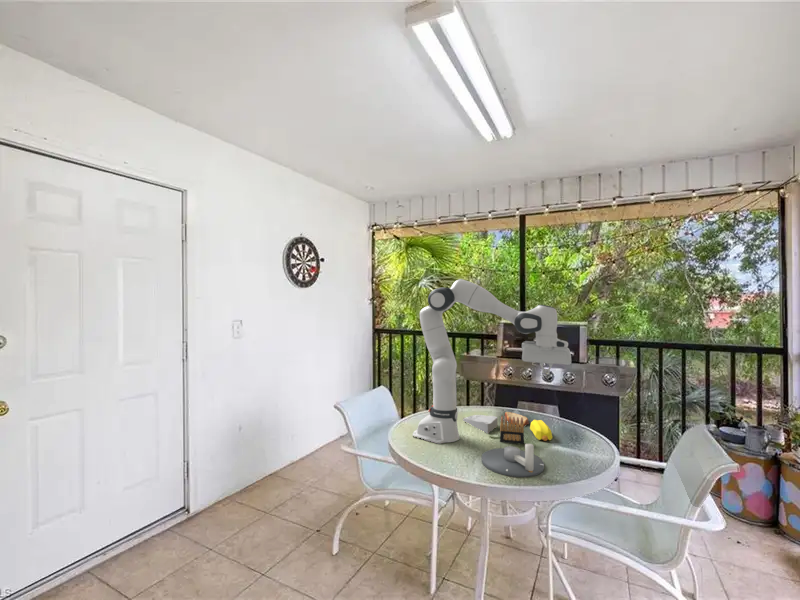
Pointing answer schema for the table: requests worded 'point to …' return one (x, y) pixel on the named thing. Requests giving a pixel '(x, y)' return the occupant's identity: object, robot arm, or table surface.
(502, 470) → the dial plate
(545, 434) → the yellow faceted oblong piece
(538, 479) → the table surface
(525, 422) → the bread slice
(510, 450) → the dial lever
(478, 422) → the ramp
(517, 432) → the ammunition clip
